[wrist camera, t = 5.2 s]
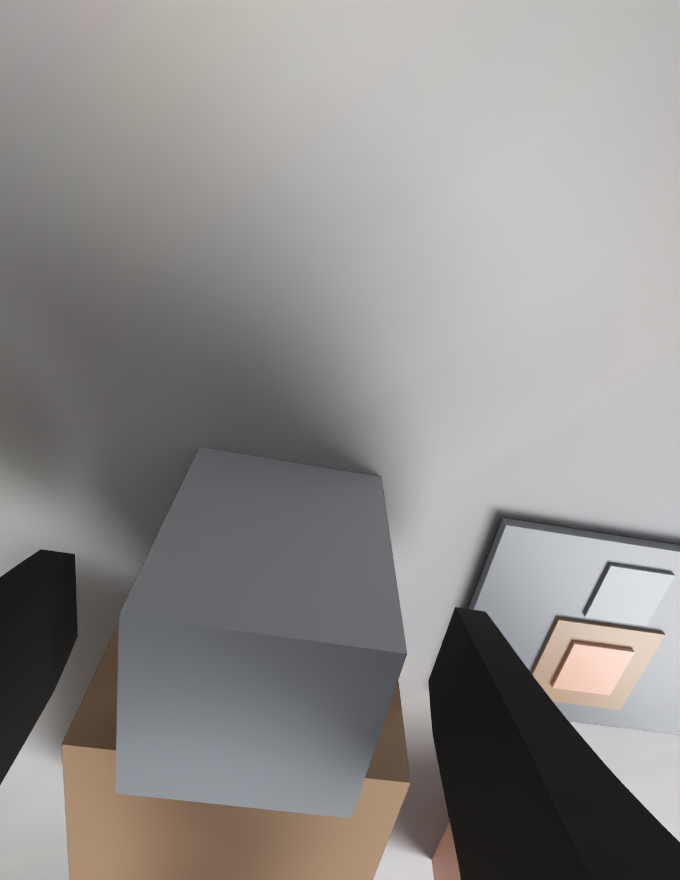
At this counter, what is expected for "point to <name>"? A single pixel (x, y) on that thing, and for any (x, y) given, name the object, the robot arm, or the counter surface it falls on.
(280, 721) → the grey block
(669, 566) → the tile
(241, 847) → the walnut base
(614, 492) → the counter surface
